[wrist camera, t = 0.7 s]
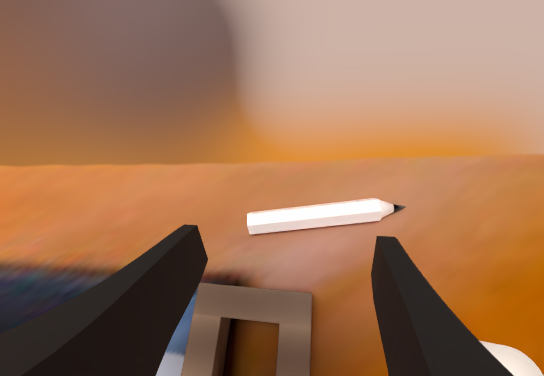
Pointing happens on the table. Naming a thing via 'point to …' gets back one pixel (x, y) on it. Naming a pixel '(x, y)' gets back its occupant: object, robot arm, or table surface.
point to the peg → (513, 360)
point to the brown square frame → (249, 306)
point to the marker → (319, 215)
